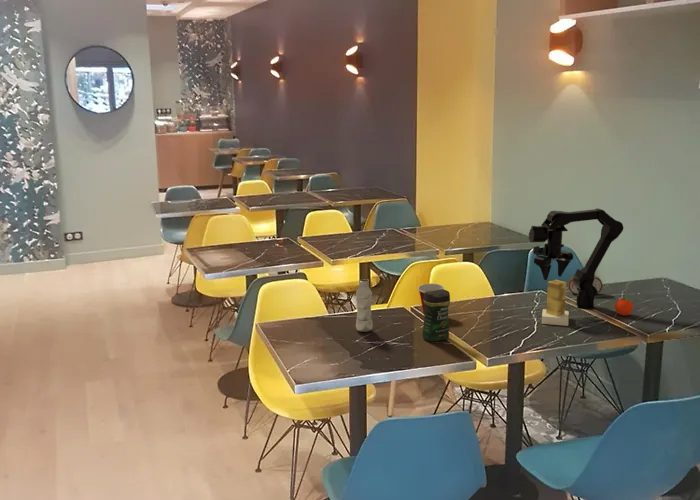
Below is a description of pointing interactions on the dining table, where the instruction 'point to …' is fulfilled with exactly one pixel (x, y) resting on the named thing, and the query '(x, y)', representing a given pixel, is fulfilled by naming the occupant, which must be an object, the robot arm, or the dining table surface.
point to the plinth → (555, 318)
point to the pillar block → (556, 297)
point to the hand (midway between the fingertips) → (552, 278)
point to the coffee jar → (436, 315)
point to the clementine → (624, 306)
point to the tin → (573, 289)
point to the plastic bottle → (364, 306)
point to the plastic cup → (426, 288)
